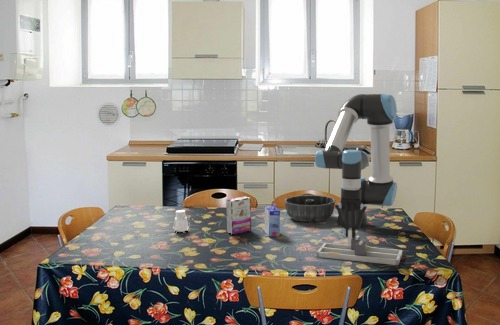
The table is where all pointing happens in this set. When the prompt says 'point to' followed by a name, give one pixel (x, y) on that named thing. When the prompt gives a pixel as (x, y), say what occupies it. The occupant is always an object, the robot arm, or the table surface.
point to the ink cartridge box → (272, 221)
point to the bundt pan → (310, 207)
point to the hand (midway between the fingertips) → (350, 244)
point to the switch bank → (372, 256)
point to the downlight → (181, 221)
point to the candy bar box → (238, 215)
